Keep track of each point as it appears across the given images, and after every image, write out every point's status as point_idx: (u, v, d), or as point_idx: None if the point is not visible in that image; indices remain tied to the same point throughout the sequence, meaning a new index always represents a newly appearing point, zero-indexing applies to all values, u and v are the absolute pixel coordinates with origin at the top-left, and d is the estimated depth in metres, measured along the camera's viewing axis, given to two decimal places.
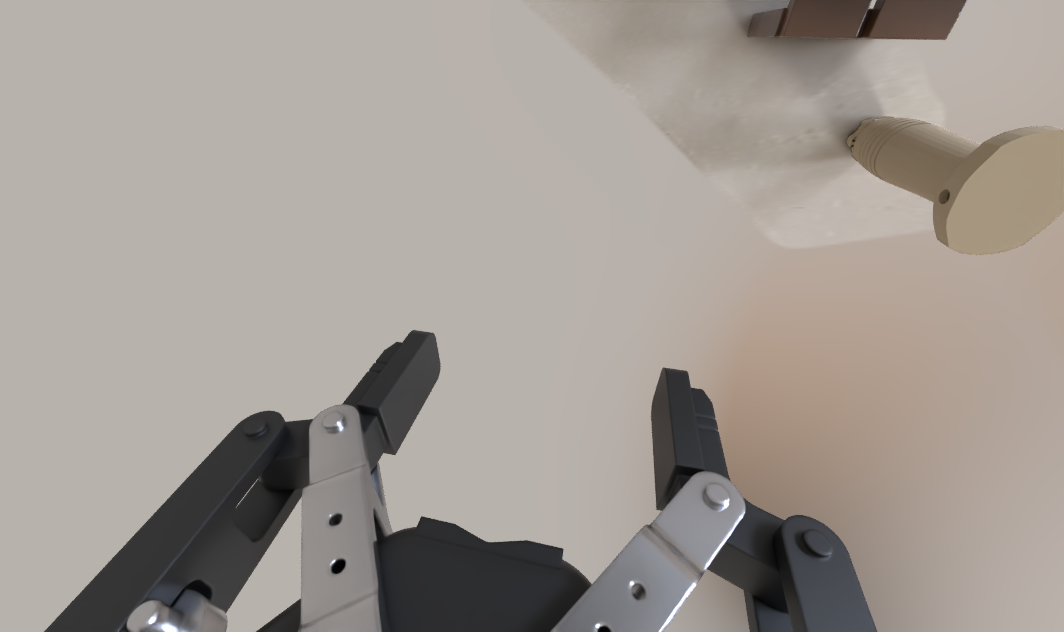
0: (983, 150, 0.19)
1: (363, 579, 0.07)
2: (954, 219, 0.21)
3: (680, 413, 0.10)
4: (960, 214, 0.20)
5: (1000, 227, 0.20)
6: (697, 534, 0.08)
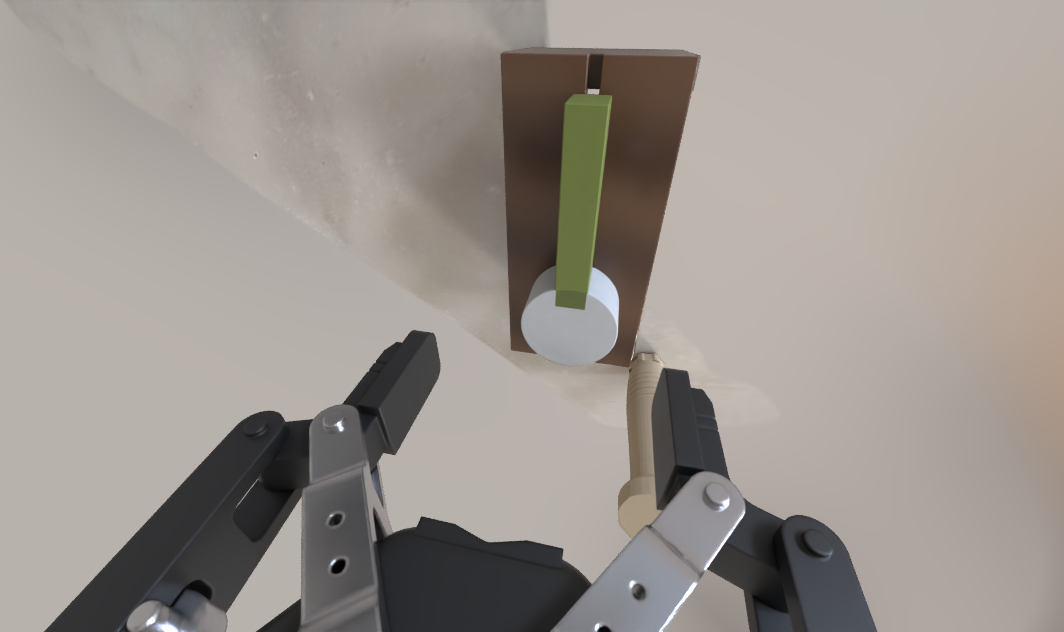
0: (627, 488, 0.24)
1: (363, 579, 0.07)
2: (624, 525, 0.26)
3: (680, 413, 0.10)
4: (626, 523, 0.25)
5: None
6: (697, 534, 0.08)
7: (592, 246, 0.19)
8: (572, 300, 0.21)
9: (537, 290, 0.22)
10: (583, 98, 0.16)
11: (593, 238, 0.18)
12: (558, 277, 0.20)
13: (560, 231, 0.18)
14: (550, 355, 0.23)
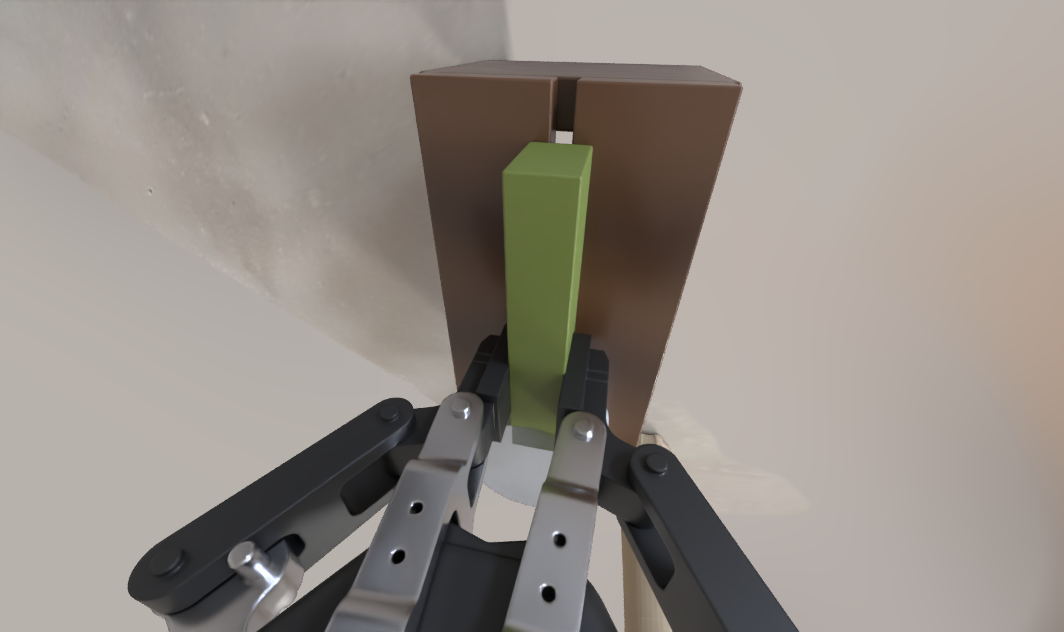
0: None
1: (363, 579, 0.07)
2: None
3: (574, 367, 0.12)
4: None
5: None
6: (582, 466, 0.09)
7: None
8: (536, 440, 0.14)
9: None
10: (541, 155, 0.09)
11: (564, 368, 0.12)
12: (514, 411, 0.13)
13: (512, 356, 0.12)
14: (511, 494, 0.16)
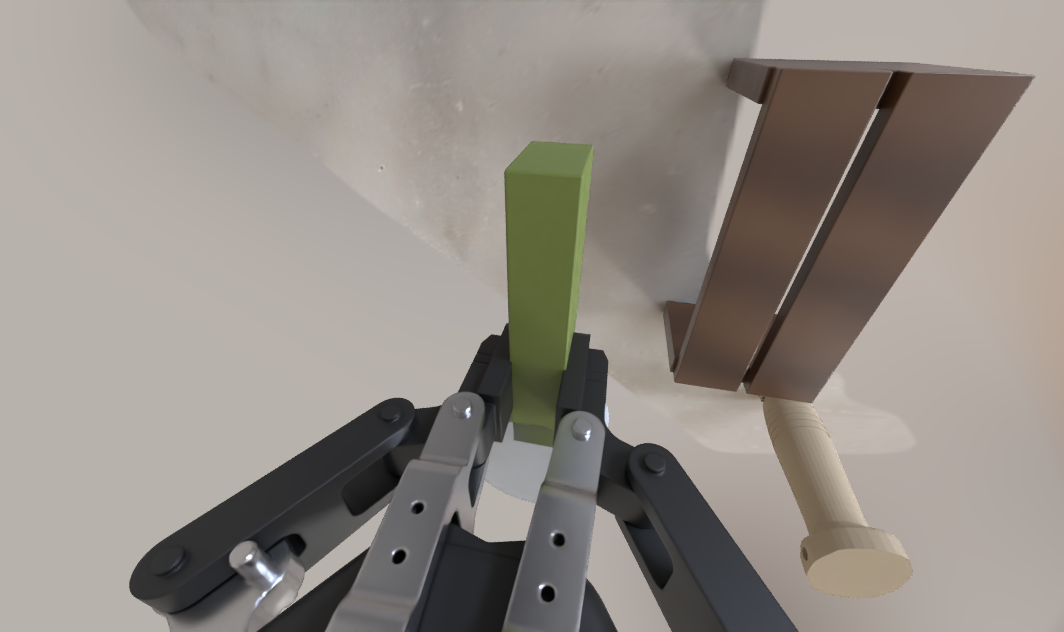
0: (828, 539, 0.22)
1: (363, 579, 0.07)
2: (812, 576, 0.24)
3: (573, 367, 0.12)
4: (816, 574, 0.23)
5: (851, 586, 0.23)
6: (581, 466, 0.09)
7: None
8: (537, 436, 0.14)
9: None
10: (543, 155, 0.10)
11: (564, 365, 0.12)
12: (515, 408, 0.13)
13: (513, 352, 0.12)
14: (512, 490, 0.17)
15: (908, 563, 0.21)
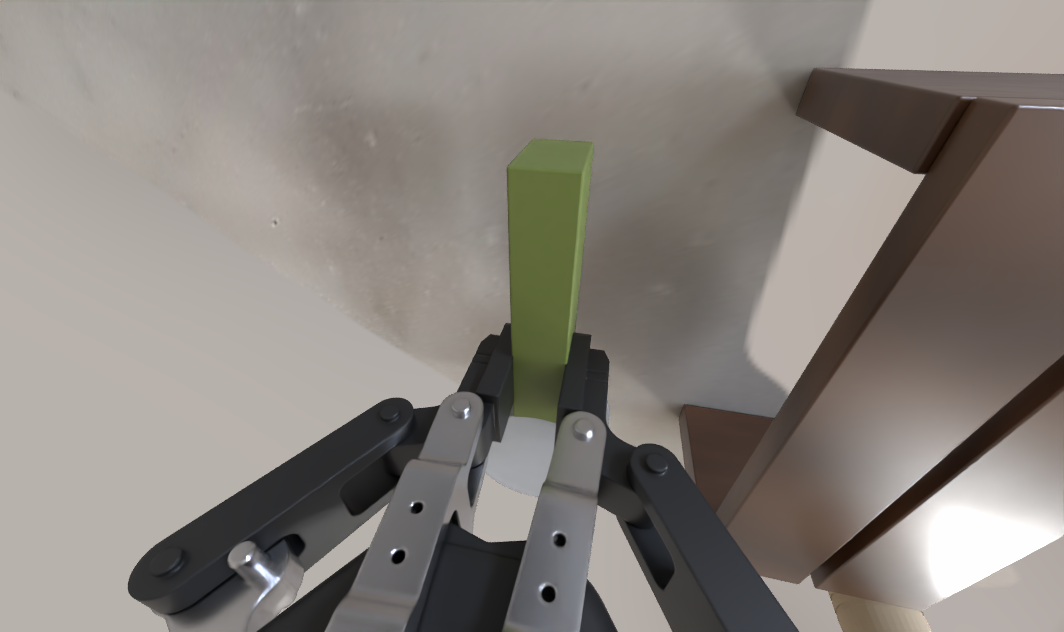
0: None
1: (363, 579, 0.07)
2: None
3: (574, 367, 0.12)
4: None
5: None
6: (582, 466, 0.09)
7: None
8: (538, 430, 0.14)
9: None
10: (544, 152, 0.10)
11: (566, 359, 0.12)
12: (517, 402, 0.13)
13: (515, 347, 0.12)
14: (514, 485, 0.17)
15: None
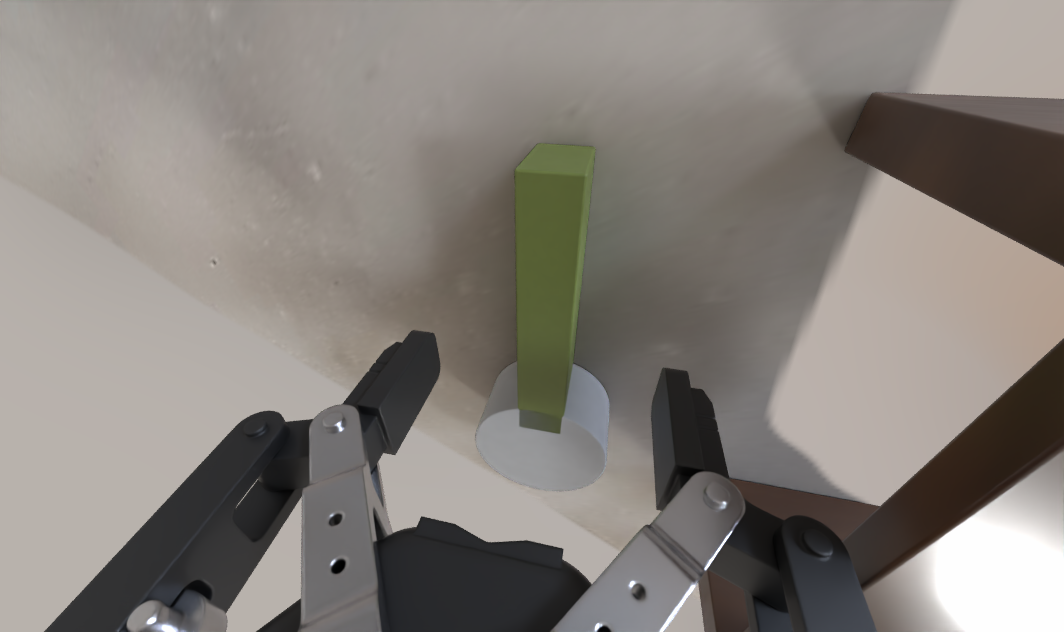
0: None
1: (363, 579, 0.07)
2: None
3: (680, 413, 0.10)
4: None
5: None
6: (698, 534, 0.08)
7: (567, 362, 0.13)
8: (542, 422, 0.15)
9: (496, 400, 0.16)
10: (549, 156, 0.10)
11: (568, 352, 0.12)
12: (521, 395, 0.14)
13: (520, 341, 0.13)
14: (517, 477, 0.17)
15: None
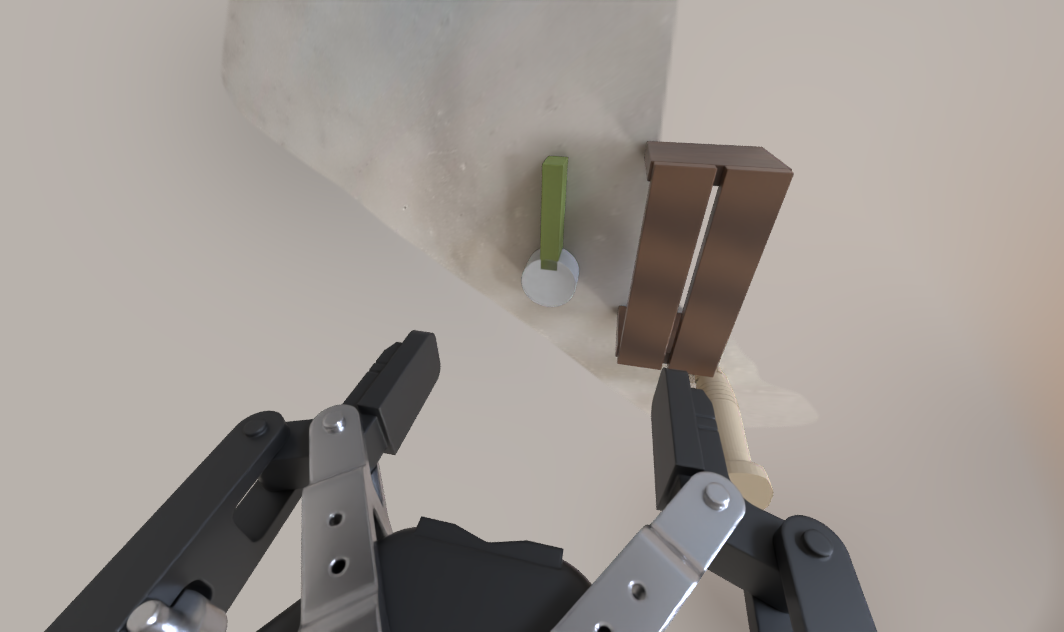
0: None
1: (363, 579, 0.07)
2: None
3: (680, 413, 0.10)
4: None
5: None
6: (697, 534, 0.08)
7: (559, 234, 0.35)
8: (549, 265, 0.37)
9: (530, 260, 0.38)
10: (552, 160, 0.33)
11: (559, 230, 0.35)
12: (541, 252, 0.36)
13: (542, 226, 0.35)
14: (538, 300, 0.40)
15: (767, 482, 0.31)
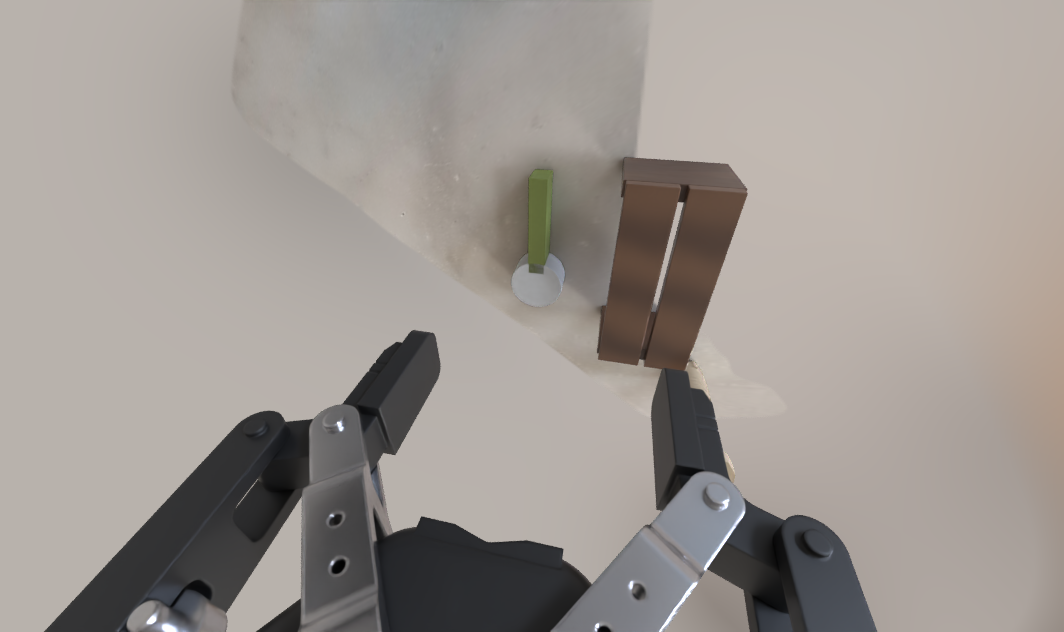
0: None
1: (363, 579, 0.07)
2: None
3: (680, 413, 0.10)
4: None
5: None
6: (698, 534, 0.08)
7: (545, 241, 0.38)
8: (536, 269, 0.40)
9: (519, 264, 0.41)
10: (538, 173, 0.36)
11: (545, 237, 0.38)
12: (529, 257, 0.40)
13: (529, 233, 0.38)
14: (527, 301, 0.43)
15: (729, 466, 0.34)
